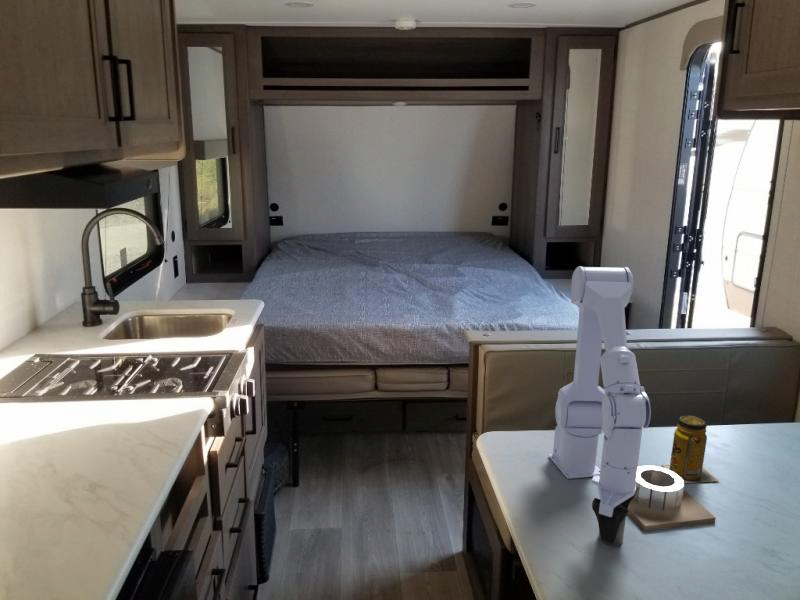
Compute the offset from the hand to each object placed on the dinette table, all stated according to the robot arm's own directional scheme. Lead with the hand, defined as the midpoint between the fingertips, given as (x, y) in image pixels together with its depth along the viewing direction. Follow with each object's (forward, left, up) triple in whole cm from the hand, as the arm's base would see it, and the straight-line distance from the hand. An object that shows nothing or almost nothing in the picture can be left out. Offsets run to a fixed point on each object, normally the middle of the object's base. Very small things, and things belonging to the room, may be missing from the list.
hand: (611, 531), depth 109 cm
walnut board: (-9, +14, -1) cm, 17 cm away
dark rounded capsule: (0, 0, -1) cm, 1 cm away
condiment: (-17, +27, -2) cm, 32 cm away
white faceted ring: (-9, +14, -1) cm, 17 cm away
